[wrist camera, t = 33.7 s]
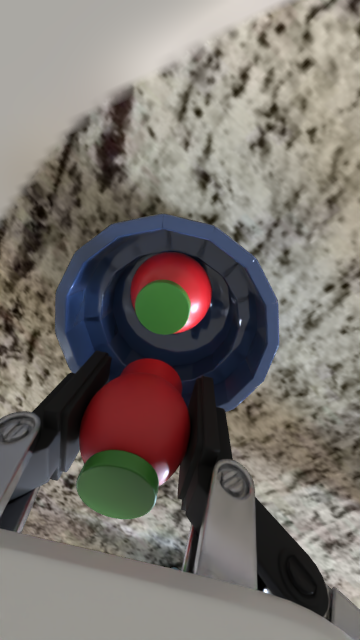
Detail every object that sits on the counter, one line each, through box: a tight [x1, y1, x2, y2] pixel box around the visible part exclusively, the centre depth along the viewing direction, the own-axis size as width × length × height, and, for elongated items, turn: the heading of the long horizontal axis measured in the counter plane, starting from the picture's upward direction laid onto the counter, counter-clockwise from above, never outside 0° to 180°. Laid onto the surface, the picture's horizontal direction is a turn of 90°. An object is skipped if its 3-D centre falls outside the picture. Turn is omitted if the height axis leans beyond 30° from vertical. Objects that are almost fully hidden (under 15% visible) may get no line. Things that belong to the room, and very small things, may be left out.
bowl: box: [55, 214, 279, 412], centre depth 13 cm, size 11×11×4 cm
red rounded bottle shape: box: [76, 358, 191, 519], centre depth 9 cm, size 4×4×5 cm
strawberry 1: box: [130, 252, 212, 335], centre depth 12 cm, size 4×4×5 cm
